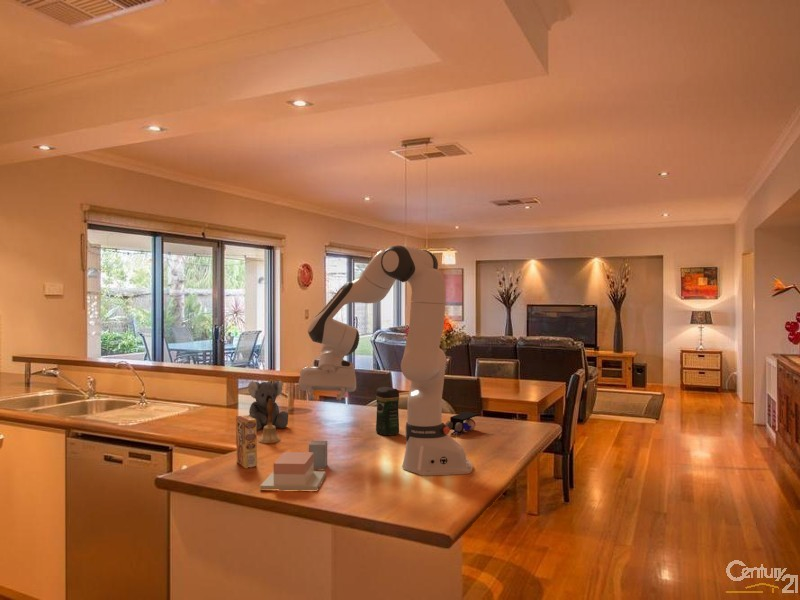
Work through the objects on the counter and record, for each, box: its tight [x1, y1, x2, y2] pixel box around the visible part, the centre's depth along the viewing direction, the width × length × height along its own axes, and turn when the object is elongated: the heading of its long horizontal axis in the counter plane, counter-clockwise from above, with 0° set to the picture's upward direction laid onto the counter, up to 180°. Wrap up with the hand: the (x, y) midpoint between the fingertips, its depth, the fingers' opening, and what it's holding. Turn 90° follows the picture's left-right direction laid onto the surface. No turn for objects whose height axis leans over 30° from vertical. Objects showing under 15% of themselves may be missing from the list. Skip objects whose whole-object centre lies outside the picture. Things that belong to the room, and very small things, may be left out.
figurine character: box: [445, 411, 479, 436], centre depth 231 cm, size 7×8×15 cm
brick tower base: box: [259, 451, 327, 491], centre depth 167 cm, size 16×14×8 cm
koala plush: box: [247, 380, 289, 431], centre depth 243 cm, size 17×18×20 cm
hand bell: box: [257, 399, 281, 444], centre depth 217 cm, size 8×8×16 cm
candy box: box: [235, 414, 258, 469], centre depth 186 cm, size 9×4×15 cm, turn 35°
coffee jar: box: [375, 386, 400, 436], centre depth 229 cm, size 10×8×19 cm
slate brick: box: [308, 440, 328, 470], centre depth 183 cm, size 5×5×8 cm
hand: (324, 399), depth 197 cm, fingers open, 8 cm apart
